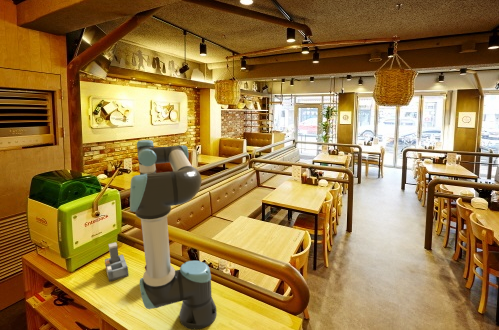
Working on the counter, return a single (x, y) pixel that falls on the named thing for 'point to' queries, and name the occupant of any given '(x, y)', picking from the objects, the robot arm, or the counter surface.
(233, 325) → the counter surface
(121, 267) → the port box
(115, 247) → the plug
